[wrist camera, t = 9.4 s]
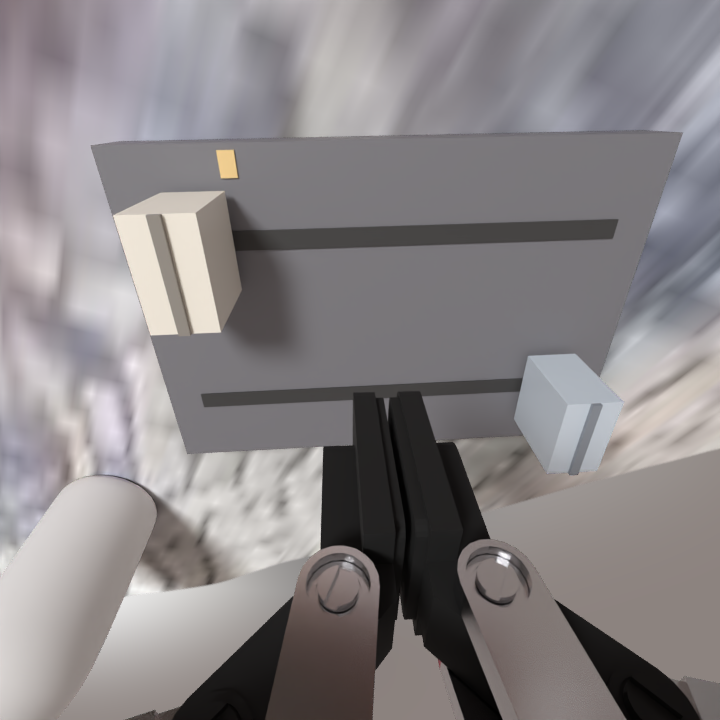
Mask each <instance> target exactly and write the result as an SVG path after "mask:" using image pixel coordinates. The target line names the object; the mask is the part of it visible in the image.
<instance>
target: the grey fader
mask: <svg viewBox="0 0 720 720" xmlns="http://www.w3.org/2000/svg"><path fill="white" fill-rule="evenodd" d="M623 404H624V401H623V400H622V399H621V398H620V397H619V396H618V395H617V394H616V393H615V392H614V391H613V390H612V389H611V388H610V387H609V386H608V385H606V384H605V383H604V382H603V381H602V380H601V379H600V378H599V377H598V376H597V375H596V374H595V373H594V372H593V371H592V370H591V369H590V368H589V367H588V366H587V365H586V364H585V363H584V362H583V361H582V360H581V359H580V358H579V357H578V356H577V355H576V354H557V355H535V356H528V358H527V363H526V367H525V371H524V376H523V380H522V385H521V389H520V394H519V398H518V402H517V407H516V411H515V416H514V420H515V422H516V423H517V425H518V427H519V429H520V430H521V432H522V434H523V435H524V437H525V439H526V440H527V442H528V444H529V445H530V447H531V449H532V450H533V452H534V454H535V455H536V457H537V459H538V460H539V462H540V464H541V465H542V467H543V469H544V470H545V472H546V474H555V473H568V474H569V475H578V473H579V472H588V471H597V470H598V467H599V465H600V462H601V460H602V457H603V455H604V452H605V450H606V447H607V444H608V442H609V439H610V437H611V434H612V432H613V429H614V427H615V424H616V422H617V419H618V416H619V414H620V411H621V409H622V406H623Z"/></svg>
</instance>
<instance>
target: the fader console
mask: <svg viewBox="0 0 720 720" xmlns="http://www.w3.org/2000/svg"><path fill="white" fill-rule="evenodd" d="M682 134H683V133H680V132H663V131H646V130H632V131H586V132H539V133H492V134H446V135H399V136H352V137H306V138H259V139H212V140H165V141H119V142H112V143H105V144H98V145H91V149H92V152H93V155H94V158H95V162H96V165H97V168H98V171H99V174H100V178H101V181H102V184H103V187H104V190H105V193H106V197H107V200H108V203H109V206H110V209H111V213H112V216H113V215H115V214H117V213H119V212H121V211H123V210H125V209H127V208H129V207H131V206H133V205H136V204H138V203H140V202H142V201H144V200H146V199H148V198H150V197H152V196H154V195H156V194H159V193H164V192H201V191H225V195H226V201H227V207H228V212H229V218H230V224H231V230H232V235H233V241H234V247H235V253H236V259H237V264H238V270H239V276H240V282H241V287H242V291H241V293H240V295H239V297H238V299H237V301H236V303H235V305H234V307H233V309H232V311H231V313H230V315H229V317H228V319H227V321H226V323H225V325H224V327H223V329H222V332H221V333H197V334H191V336H178V334H173V335H150V337H151V340H152V343H153V346H154V349H155V352H156V356H157V359H158V362H159V365H160V368H161V372H162V375H163V378H164V381H165V384H166V387H167V391H168V394H169V397H170V400H171V403H172V407H173V410H174V413H175V416H176V419H177V422H178V426H179V429H180V432H181V435H182V438H183V442H184V445H185V448H186V451H187V454H195V453H213V452H231V451H249V450H267V449H285V448H304V447H322V446H340V445H353V392H375V396H376V398H384V404H385V409H386V415H387V421H388V408H389V398H390V397H397V392H398V391H420V392H421V395H422V398H423V401H424V405H425V408H426V411H427V414H428V418H429V421H430V424H431V427H432V431H433V434H434V437H435V440H448V439H466V438H484V437H503V436H521V435H523V434H522V432H521V430H520V429H519V427H518V425H517V423H516V422H515V420H514V416H515V411H516V407H517V402H518V398H519V394H520V389H521V385H522V380H523V376H524V371H525V367H526V363H527V358H528V356H535V355H557V354H576V355H577V356H578V357H579V358H580V359H581V360H582V361H583V362H584V363H585V364H586V365H587V366H588V367H589V368H590V369H591V370H592V371H593V372H594V373H595V374H596V375H597V376H598V377H600V374H601V371H602V368H603V366H604V363H605V360H606V357H607V354H608V351H609V348H610V345H611V342H612V339H613V336H614V333H615V330H616V327H617V324H618V321H619V319H620V316H621V313H622V310H623V307H624V304H625V301H626V298H627V295H628V292H629V289H630V286H631V283H632V280H633V277H634V275H635V272H636V269H637V266H638V263H639V260H640V257H641V254H642V251H643V248H644V245H645V242H646V239H647V236H648V233H649V230H650V228H651V225H652V222H653V219H654V216H655V213H656V210H657V207H658V204H659V201H660V198H661V195H662V192H663V189H664V186H665V183H666V181H667V178H668V175H669V172H670V169H671V166H672V163H673V160H674V157H675V154H676V151H677V148H678V145H679V142H680V139H681V136H682ZM113 219H114V217H113ZM114 222H115V220H114ZM115 225H116V224H115ZM116 228H117V227H116ZM117 232H118V230H117ZM118 235H119V233H118ZM119 238H120V236H119ZM120 241H121V240H120ZM121 244H122V243H121ZM122 248H123V246H122ZM123 251H124V249H123ZM124 254H125V252H124ZM125 257H126V255H125ZM126 260H127V259H126ZM127 263H128V262H127ZM128 267H129V265H128ZM129 270H130V268H129ZM130 273H131V271H130ZM131 276H132V275H131ZM132 279H133V278H132ZM133 283H134V281H133ZM134 286H135V284H134ZM135 289H136V287H135ZM136 292H137V290H136ZM137 295H138V294H137ZM138 298H139V297H138ZM139 302H140V300H139ZM140 305H141V303H140ZM141 308H142V306H141ZM142 311H143V310H142ZM143 314H144V313H143ZM144 317H145V316H144ZM145 321H146V319H145ZM146 324H147V322H146ZM147 327H148V326H147ZM148 330H149V329H148ZM149 333H150V332H149Z"/></svg>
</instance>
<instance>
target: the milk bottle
mask: <svg viewBox="0 0 720 720" xmlns="http://www.w3.org/2000/svg"><path fill="white" fill-rule="evenodd" d="M156 519H157V510H156V506H155V502H154V501H153V499H152V497H151V496H150V495H149V494H148V493H147V492H146V491H145V490H144V489H142V488H141V487H140V486H138V485H136V484H134V483H132V482H130V481H127V480H125V479H122V478H118V477H114V476H106V475H93V476H86V477H83V478H80V479H77V480H76V481H74V482H72V483H70V484H69V485H67V486H66V487H65V488H64V489H63V490H62V491H61V492H60V494H59V495H58V496H57V497H56V499H55V500H54V501H53V503H52V504H51V506H50V507H49V508H48V510H47V511H46V513H45V514H44V515H43V517H42V518H41V520H40V521H39V522H38V524H37V525H36V527H35V528H34V530H33V531H32V532H31V534H30V535H29V537H28V538H27V539H26V541H25V542H24V544H23V545H22V547H21V548H20V549H19V551H18V552H17V554H16V555H15V556H14V558H13V559H12V561H11V562H10V564H9V565H8V566H7V568H6V569H5V571H4V572H3V574H2V575H1V576H0V720H56V719H57V718H58V717H59V716H60V715H61V714H62V712H63V711H64V710H65V709H66V708H67V706H68V705H69V704H70V702H71V701H72V699H73V698H74V697H75V695H76V694H77V692H78V691H79V689H80V688H81V686H82V685H83V683H84V682H85V680H86V678H87V676H88V674H89V673H90V671H91V669H92V667H93V665H94V663H95V661H96V659H97V656H98V655H99V652H100V650H101V648H102V646H103V644H104V642H105V639H106V637H107V635H108V633H109V631H110V628H111V626H112V623H113V621H114V619H115V617H116V614H117V612H118V610H119V607H120V605H121V603H122V601H123V598H124V596H125V594H126V591H127V589H128V587H129V584H130V582H131V580H132V577H133V575H134V573H135V570H136V568H137V566H138V563H139V561H140V558H141V556H142V554H143V551H144V549H145V547H146V544H147V542H148V540H149V537H150V535H151V532H152V530H153V527H154V525H155V522H156Z"/></svg>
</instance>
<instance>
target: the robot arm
mask: <svg viewBox="0 0 720 720" xmlns="http://www.w3.org/2000/svg"><path fill="white" fill-rule="evenodd" d="M399 595H400V597H401V605H402V612H403V617H404V619H413V626H414V632H415V635H422V637H423V643H424V647H425V648H426V649H428V650H429V651H430V652H431V653H432V654H433V655H434V656H436V657H437V658H438V663H439V668H440V672H441V675H442V678H443V681H444V684H445V688H446V691H447V693H448V697H449V700H450V703H451V706H452V709H453V712H454V716H455V719H456V720H720V683H716V682H711V681H706V680H701V679H696V678H691V677H687V676H684V677H683V678H682V679H681V680H680V681H679V680H674V679H670V678H668V677H667V676H666V675H665V674H663V673H662V672H661V671H660V670H658V669H657V668H656V667H654V666H653V665H651V664H650V663H648V662H647V661H645V660H644V659H642V658H641V657H639V656H638V655H636V654H635V653H633V652H632V651H630V650H629V649H627V648H626V647H624V646H623V645H622V644H620V643H619V642H617V641H615V640H614V639H613V638H611V637H610V636H608V635H607V634H605V633H604V632H602V631H601V630H599V629H598V628H596V627H595V626H593V625H592V624H590V623H589V622H587V621H586V620H584V619H583V618H581V617H580V616H578V615H577V614H575V613H574V612H572V611H571V610H569V609H568V608H567V607H565V606H563V605H562V604H561V603H559V602H558V601H556V600H555V599H554V598H553V597H552V595H551V593H550V592H549V590H548V588H547V587H546V585H545V583H544V582H543V580H542V578H541V577H540V575H539V573H538V572H537V570H536V568H535V567H534V566H533V564H532V563H531V562H530V560H529V559H528V558H527V557H526V556H525V555H524V554H523V553H522V552H520V551H519V550H518V549H517V548H515V547H512V546H511V545H509V544H507V543H505V542H502V541H497V540H493V539H490V537H489V534H488V532H487V529H486V526H485V523H484V520H483V518H482V515H481V512H480V509H479V507H478V504H477V501H476V498H475V496H474V493H473V490H472V487H471V485H470V482H469V479H468V477H467V474H466V471H465V468H464V466H463V463H462V460H461V457H460V455H459V452H458V449H457V447H456V445H455V444H454V443H453V442H448V443H436V440H435V437H434V434H433V431H432V427H431V424H430V421H429V418H428V414H427V411H426V408H425V405H424V401H423V398H422V395H421V392H420V391H398V392H397V397H390V398H389V408H388V421H387V415H386V409H385V404H384V398H376V396H375V392H353V445H349V446H324V448H323V479H322V515H321V550H319V551H318V552H317V553H315V554H314V555H312V556H311V557H310V558H309V559H308V560H307V562H306V563H305V564H304V565H303V567H302V569H301V571H300V574H299V576H298V579H297V583H296V588H295V592H294V596H293V597H292V598H291V599H290V600H289V601H288V602H287V603H285V605H283V606H282V607H281V608H280V609H279V610H278V611H277V612H276V613H275V614H274V615H273V616H272V617H271V618H270V619H269V620H268V621H267V622H266V623H265V624H264V625H263V626H262V627H261V628H260V629H259V630H258V631H257V632H256V633H255V634H254V635H253V636H251V637H250V638H249V639H248V640H247V641H246V642H245V643H244V644H243V645H242V646H241V647H240V648H239V649H238V650H237V651H236V652H235V653H234V654H233V655H232V656H231V657H230V658H229V659H228V660H227V661H226V662H225V663H224V664H223V665H222V666H221V667H220V668H219V669H218V670H216V671H215V672H214V673H213V674H212V675H211V676H210V677H209V678H208V679H207V680H206V681H205V682H204V683H203V684H202V685H201V686H200V687H199V688H198V689H197V690H196V691H195V692H194V693H193V694H192V695H191V696H190V697H189V698H188V699H187V700H186V701H185V703H184V704H183V705H182V706H180V707H177V708H174V709H171V710H168V711H165V712H162V713H159V714H158V713H157V712H156V710H152V711H149V712H146V713H143V714H140V715H137V716H134V717H132V718H128V719H125V720H373V703H374V685H375V684H374V683H375V670H376V669H377V668H378V666H379V665H380V664H381V662H382V661H383V660H384V658H385V657H386V656H387V654H388V653H389V652H390V650H391V649H392V643H393V634H394V624H395V620H397V613H398V604H399Z"/></svg>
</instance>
